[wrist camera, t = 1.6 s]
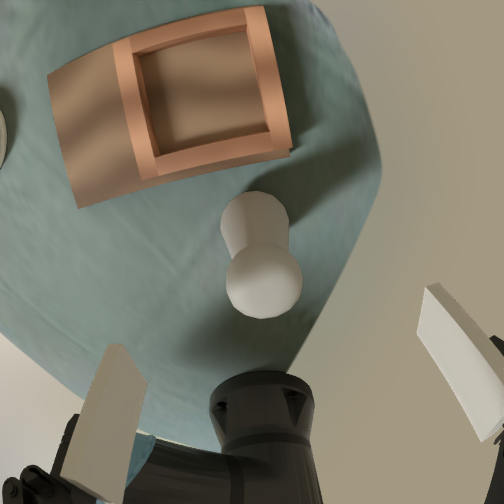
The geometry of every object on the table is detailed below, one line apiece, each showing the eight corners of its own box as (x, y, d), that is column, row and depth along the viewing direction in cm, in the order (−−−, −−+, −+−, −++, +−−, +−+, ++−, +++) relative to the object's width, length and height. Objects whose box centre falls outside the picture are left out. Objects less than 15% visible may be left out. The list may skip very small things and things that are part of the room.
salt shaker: (293, 196, 27) (338, 262, 15) (271, 251, 29) (295, 343, 17) (232, 177, 25) (229, 230, 14) (213, 234, 28) (199, 322, 16)
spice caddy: (287, 154, 25) (294, 160, 22) (85, 204, 25) (68, 215, 22) (257, 10, 19) (260, -4, 16) (55, 76, 19) (35, 73, 16)
